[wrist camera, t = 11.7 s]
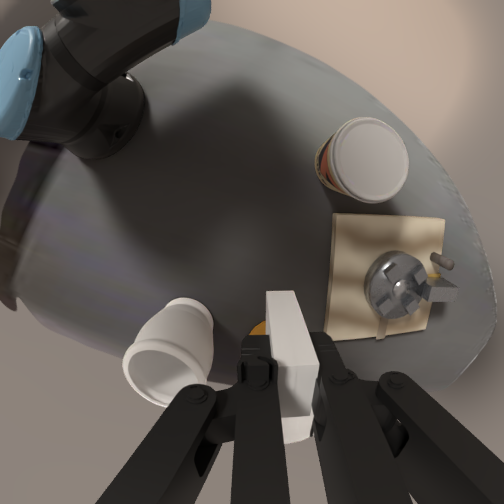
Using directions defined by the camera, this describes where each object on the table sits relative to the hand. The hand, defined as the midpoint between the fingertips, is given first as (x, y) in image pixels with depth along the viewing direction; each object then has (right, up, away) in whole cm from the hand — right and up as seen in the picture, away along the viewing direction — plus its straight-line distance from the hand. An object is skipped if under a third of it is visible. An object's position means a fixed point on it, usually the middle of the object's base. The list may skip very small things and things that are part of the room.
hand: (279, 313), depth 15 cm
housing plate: (+20, -1, +25) cm, 32 cm away
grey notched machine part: (+23, -1, +23) cm, 33 cm away
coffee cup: (+11, +16, +21) cm, 29 cm away
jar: (-12, -8, +27) cm, 31 cm away
